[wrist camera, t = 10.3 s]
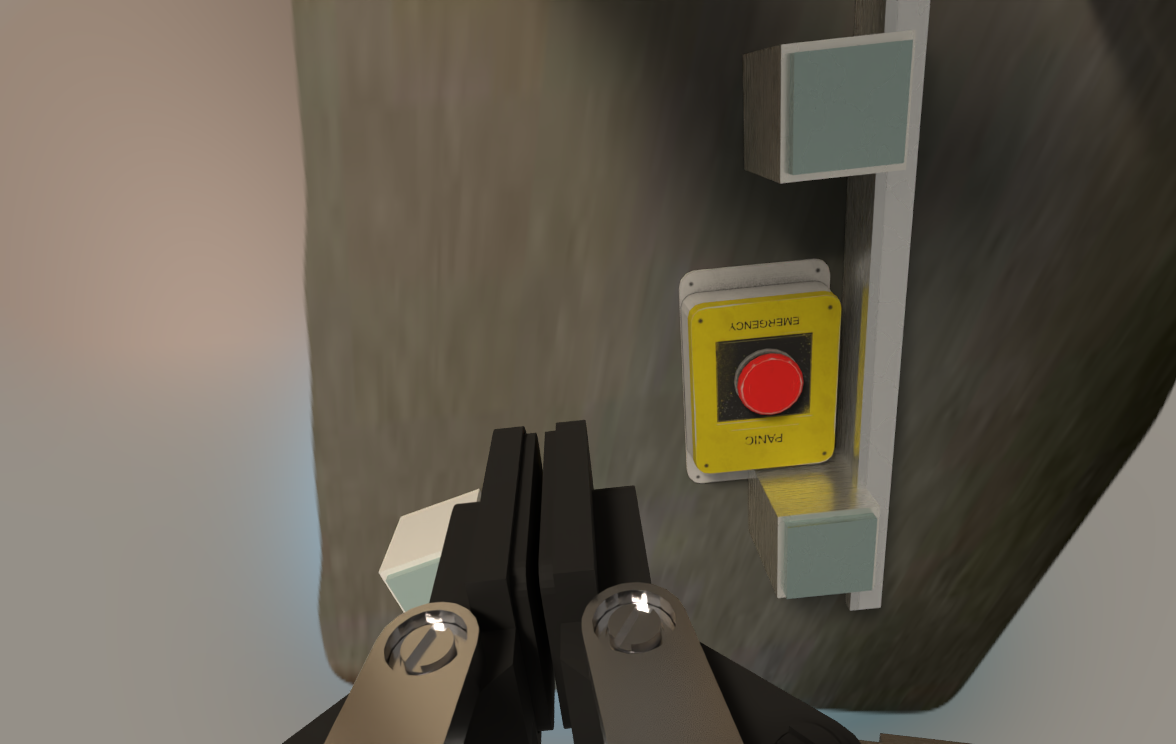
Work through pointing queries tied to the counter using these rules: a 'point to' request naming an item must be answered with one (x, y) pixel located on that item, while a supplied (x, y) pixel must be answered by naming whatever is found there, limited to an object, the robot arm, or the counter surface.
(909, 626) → the counter surface
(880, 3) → the rail fixture
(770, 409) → the emergency button
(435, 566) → the block
